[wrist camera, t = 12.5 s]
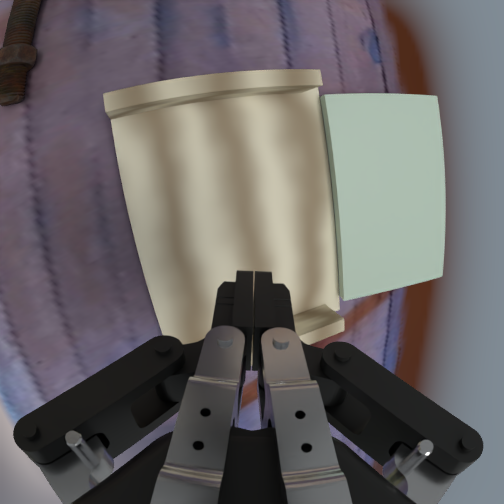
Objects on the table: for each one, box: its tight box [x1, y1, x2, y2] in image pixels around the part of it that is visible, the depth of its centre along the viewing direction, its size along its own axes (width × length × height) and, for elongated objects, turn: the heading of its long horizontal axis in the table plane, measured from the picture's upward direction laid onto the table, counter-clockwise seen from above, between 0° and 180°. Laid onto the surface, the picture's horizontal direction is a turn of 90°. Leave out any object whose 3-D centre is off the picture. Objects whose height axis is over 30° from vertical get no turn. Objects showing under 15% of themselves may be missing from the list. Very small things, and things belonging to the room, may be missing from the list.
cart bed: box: [103, 69, 344, 365], centre depth 29 cm, size 20×26×7 cm
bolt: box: [0, 0, 41, 106], centre depth 18 cm, size 6×5×15 cm
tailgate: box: [320, 93, 445, 301], centre depth 32 cm, size 2×22×14 cm
